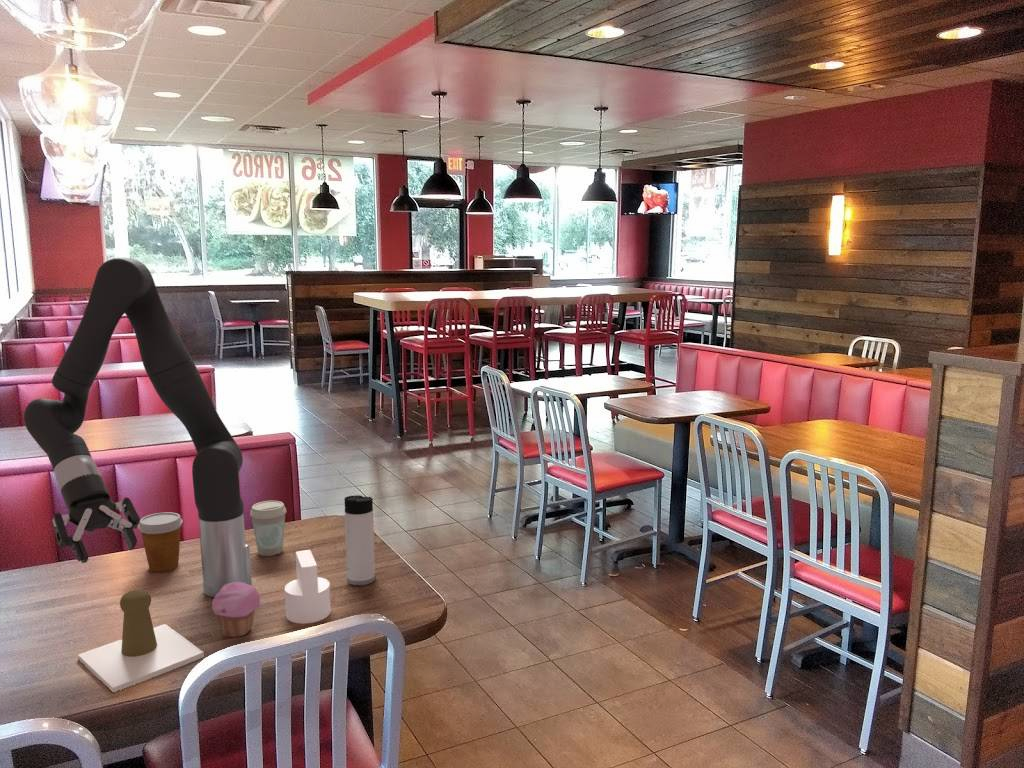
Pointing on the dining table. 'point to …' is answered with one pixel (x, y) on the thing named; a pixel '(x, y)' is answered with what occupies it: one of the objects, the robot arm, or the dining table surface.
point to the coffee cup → (268, 526)
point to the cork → (137, 624)
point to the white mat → (140, 659)
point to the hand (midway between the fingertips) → (109, 554)
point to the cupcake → (235, 608)
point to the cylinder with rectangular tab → (307, 592)
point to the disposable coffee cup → (161, 540)
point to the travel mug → (359, 540)
